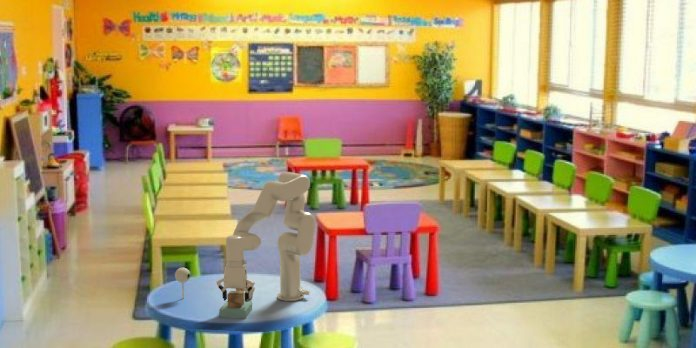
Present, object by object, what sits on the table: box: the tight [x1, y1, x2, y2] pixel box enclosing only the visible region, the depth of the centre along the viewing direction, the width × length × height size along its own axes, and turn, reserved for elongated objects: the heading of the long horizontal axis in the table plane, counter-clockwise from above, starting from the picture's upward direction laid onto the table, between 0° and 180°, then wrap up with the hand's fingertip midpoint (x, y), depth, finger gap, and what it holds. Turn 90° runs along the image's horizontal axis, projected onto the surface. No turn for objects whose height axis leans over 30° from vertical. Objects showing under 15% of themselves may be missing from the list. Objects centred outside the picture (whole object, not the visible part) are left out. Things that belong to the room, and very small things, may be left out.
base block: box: [218, 300, 253, 319], centre depth 397 cm, size 12×12×4 cm
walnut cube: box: [227, 290, 244, 308], centre depth 397 cm, size 6×6×6 cm
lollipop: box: [174, 267, 191, 300], centre depth 417 cm, size 7×7×15 cm
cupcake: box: [234, 283, 256, 301], centre depth 418 cm, size 9×9×10 cm
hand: (235, 300), depth 397 cm, fingers open, 9 cm apart
